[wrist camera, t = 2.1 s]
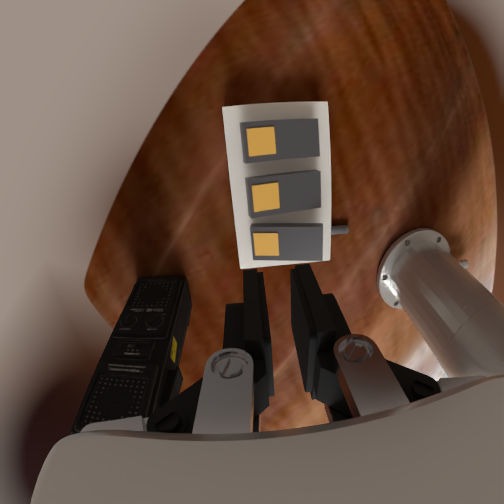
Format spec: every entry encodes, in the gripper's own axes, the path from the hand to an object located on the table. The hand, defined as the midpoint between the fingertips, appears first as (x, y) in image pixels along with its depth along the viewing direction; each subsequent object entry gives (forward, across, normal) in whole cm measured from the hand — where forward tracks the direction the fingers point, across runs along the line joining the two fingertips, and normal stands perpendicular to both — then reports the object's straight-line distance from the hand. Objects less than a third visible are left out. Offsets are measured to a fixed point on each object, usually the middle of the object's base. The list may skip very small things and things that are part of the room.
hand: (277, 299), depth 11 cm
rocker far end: (+18, -2, -5) cm, 18 cm away
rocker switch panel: (+21, -4, 0) cm, 21 cm away
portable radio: (+21, +12, +13) cm, 28 cm away
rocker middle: (+18, -2, 0) cm, 18 cm away
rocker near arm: (+18, -3, +5) cm, 18 cm away
